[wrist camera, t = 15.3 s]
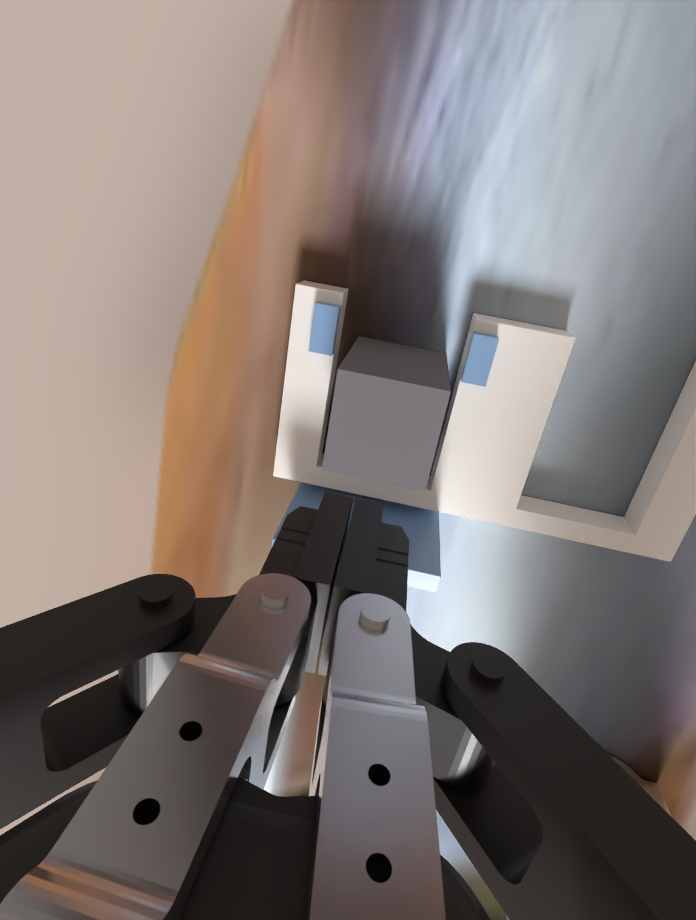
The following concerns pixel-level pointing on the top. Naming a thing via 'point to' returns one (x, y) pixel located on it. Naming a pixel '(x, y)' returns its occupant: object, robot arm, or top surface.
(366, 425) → the plug
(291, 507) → the white prong rack
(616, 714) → the top surface
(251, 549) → the top surface
